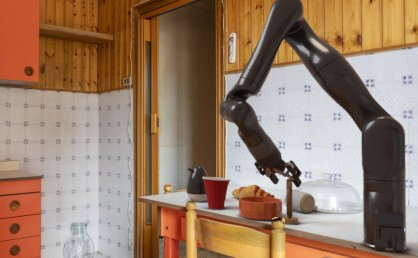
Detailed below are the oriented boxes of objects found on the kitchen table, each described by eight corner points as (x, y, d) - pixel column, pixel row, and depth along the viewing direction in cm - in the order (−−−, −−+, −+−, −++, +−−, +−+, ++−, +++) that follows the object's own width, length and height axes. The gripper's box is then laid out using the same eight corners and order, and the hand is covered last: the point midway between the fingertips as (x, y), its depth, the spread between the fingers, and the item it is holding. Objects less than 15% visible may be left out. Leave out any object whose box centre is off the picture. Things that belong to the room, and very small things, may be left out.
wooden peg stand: (299, 225, 127) (298, 179, 127) (281, 224, 128) (281, 178, 128) (297, 221, 132) (297, 177, 132) (280, 220, 133) (280, 177, 133)
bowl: (283, 222, 131) (283, 204, 131) (238, 219, 135) (238, 201, 135) (280, 213, 144) (280, 197, 144) (239, 211, 148) (239, 195, 148)
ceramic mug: (301, 214, 142) (301, 192, 142) (284, 210, 150) (284, 189, 150) (323, 212, 146) (323, 191, 146) (305, 208, 154) (305, 188, 154)
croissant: (228, 205, 180) (222, 190, 178) (239, 192, 186) (234, 177, 183) (271, 211, 164) (265, 194, 161) (282, 197, 169) (277, 181, 167)
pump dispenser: (181, 200, 174) (181, 165, 174) (201, 198, 179) (201, 164, 179) (194, 203, 165) (194, 166, 165) (215, 201, 169) (215, 165, 169)
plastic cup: (236, 209, 153) (236, 177, 153) (212, 211, 149) (212, 179, 149) (220, 204, 163) (220, 175, 163) (197, 206, 159) (197, 176, 159)
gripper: (288, 141, 119) (312, 177, 125) (251, 140, 131) (275, 173, 137) (276, 159, 116) (301, 195, 122) (239, 157, 129) (264, 190, 135)
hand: (287, 183), depth 130 cm, fingers open, 8 cm apart
